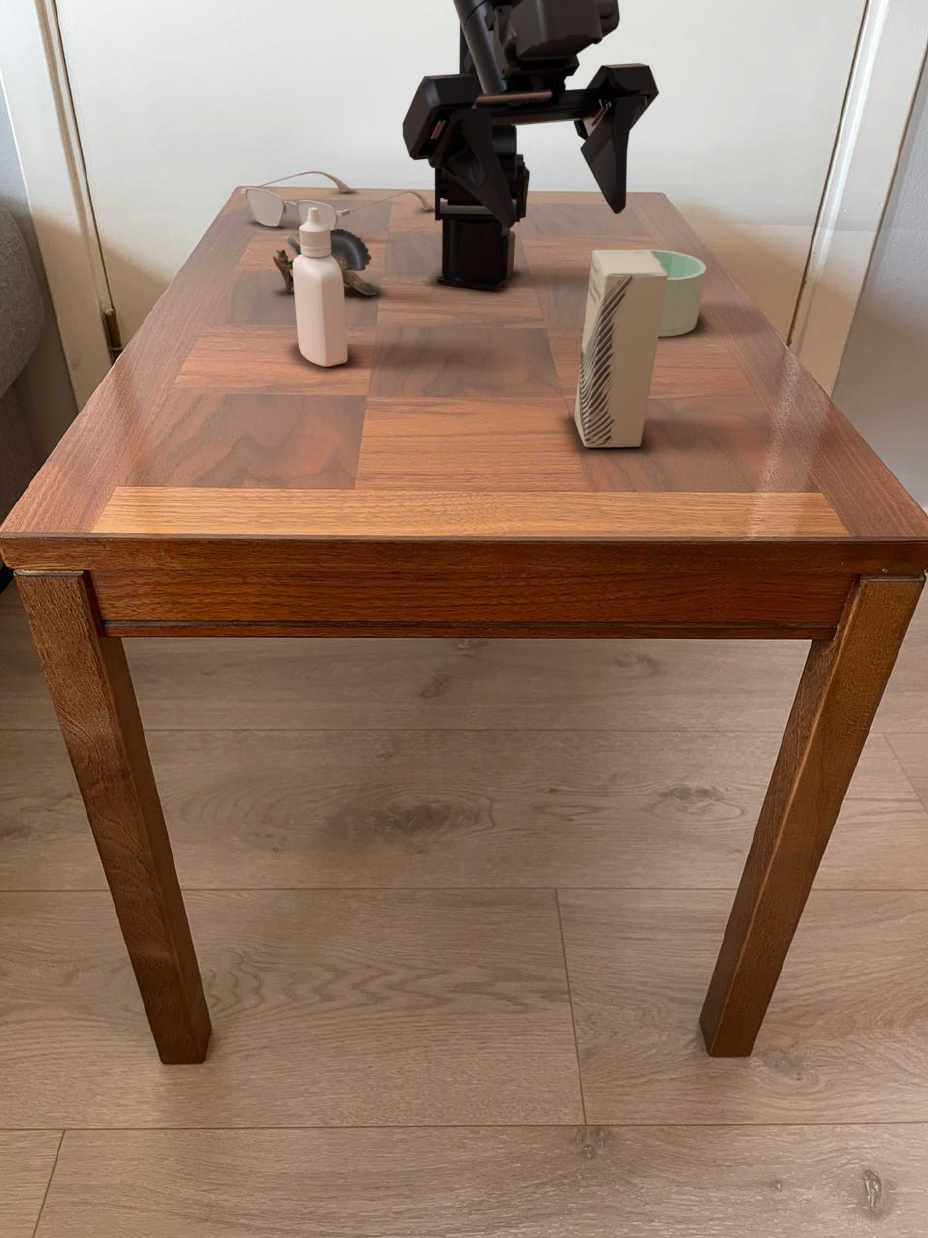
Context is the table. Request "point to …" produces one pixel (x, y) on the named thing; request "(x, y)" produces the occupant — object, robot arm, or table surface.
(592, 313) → the box
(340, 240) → the brown grey figurine
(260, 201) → the eyeglasses
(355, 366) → the table surface
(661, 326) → the bowl
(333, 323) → the eye dropper bottle
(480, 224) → the robot arm
